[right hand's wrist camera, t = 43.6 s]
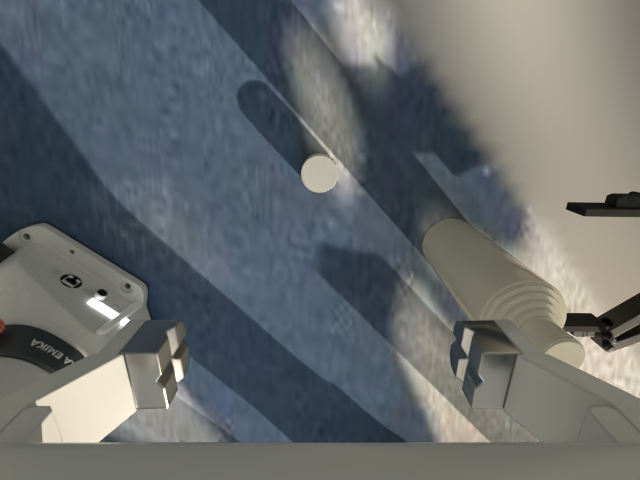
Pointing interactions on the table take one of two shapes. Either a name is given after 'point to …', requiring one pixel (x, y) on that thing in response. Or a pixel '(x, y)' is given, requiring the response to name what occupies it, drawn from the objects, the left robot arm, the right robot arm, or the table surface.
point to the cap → (319, 172)
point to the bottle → (499, 287)
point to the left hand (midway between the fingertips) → (558, 269)
